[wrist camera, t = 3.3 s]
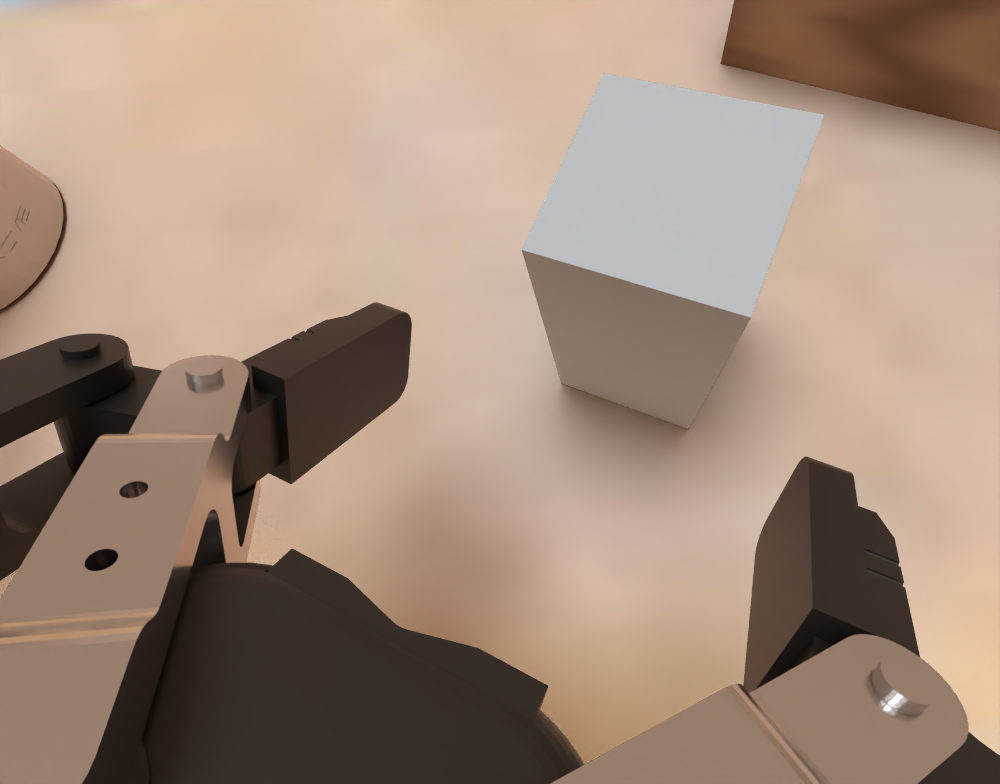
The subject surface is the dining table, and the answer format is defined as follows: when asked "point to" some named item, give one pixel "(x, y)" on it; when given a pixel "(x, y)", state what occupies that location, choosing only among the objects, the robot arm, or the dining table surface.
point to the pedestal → (878, 51)
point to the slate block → (662, 238)
